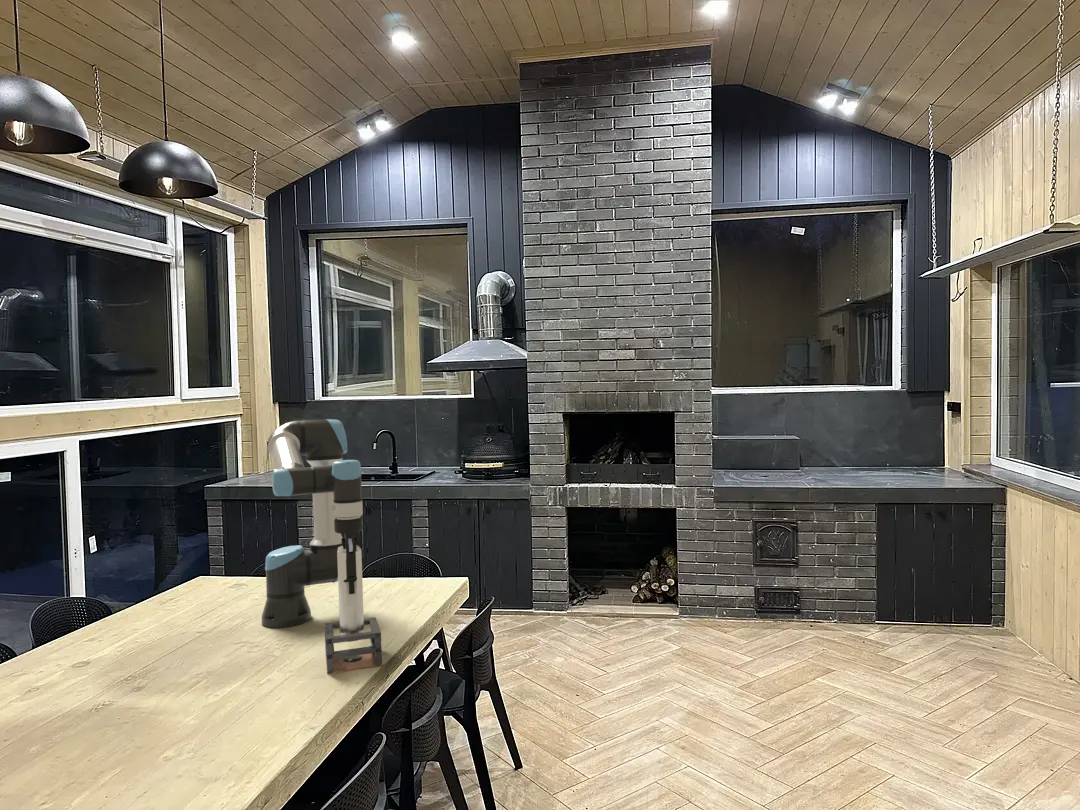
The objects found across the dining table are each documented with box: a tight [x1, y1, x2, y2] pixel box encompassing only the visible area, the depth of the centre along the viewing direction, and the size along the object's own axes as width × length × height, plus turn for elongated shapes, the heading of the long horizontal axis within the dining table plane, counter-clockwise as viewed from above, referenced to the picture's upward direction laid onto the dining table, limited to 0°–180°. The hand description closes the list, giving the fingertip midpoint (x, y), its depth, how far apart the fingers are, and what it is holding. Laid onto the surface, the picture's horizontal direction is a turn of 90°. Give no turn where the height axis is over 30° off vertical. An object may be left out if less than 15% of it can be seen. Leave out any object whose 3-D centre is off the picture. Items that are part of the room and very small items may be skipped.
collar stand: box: [324, 616, 383, 675], centre depth 194 cm, size 14×14×9 cm
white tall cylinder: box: [337, 544, 365, 643], centre depth 193 cm, size 6×6×25 cm
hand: (351, 601), depth 193 cm, fingers closed on white tall cylinder, 5 cm apart
